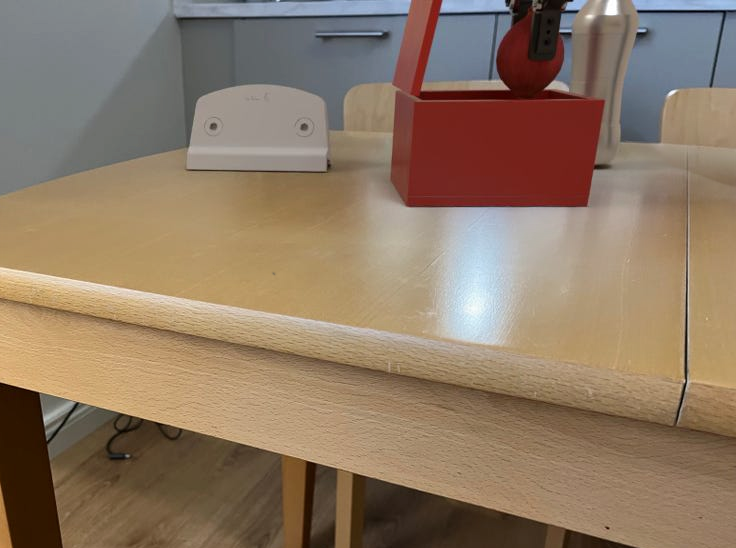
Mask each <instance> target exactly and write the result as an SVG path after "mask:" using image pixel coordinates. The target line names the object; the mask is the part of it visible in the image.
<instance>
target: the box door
mask: <svg viewBox="0 0 736 548" xmlns="http://www.w3.org/2000/svg"><path fill="white" fill-rule="evenodd" d="M442 4H443V0H410V5H409V9H408V14H407V17H406V22H405V26H404V30H403V36H402V40H401V44H400V48H399V53H398V57H397V61H396V66H395V70H394V75H393V79H392V83H391V85H392V86H393V87H396V88H397V89H399V90H403V91H404V92H406V93H408V94H410V95H414V96H419V95H420V91H421V90H422V87H423V82H424V79H425V74H426V72H427V66H428V63H429V58H430V54H431V51H432V50H431V49H432V46H433V42H434V37H435V33H436V29H437V25H438V21H439V17H440V13H441V10H442V9H441V8H442Z"/></svg>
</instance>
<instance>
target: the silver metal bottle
mask: <svg viewBox="0 0 736 548" xmlns="http://www.w3.org/2000/svg"><path fill="white" fill-rule="evenodd" d="M639 17H640V16H639V12H638V10H637V8H636V6H635V3H634V2H633V0H587V1H585V3H584V4H583V5H582V6H581V8H580V9H579V11H578V12H577V14H576V15H575V17H574V19H573V21H572V24H571V36H570V37H571V38H570V39H571V63H570V74H569V75H570V80H569V86H568V92H572V93H576V94H581V95H585V96H590V97H594V98H599V99H603V100H605V104H604V110H603V116H602V122H601V128H600V134H599V140H598V146H597V152H596V158H595V164H594V167H595V166H600V165H604V164H610V163H612V161H613V160H614V159H615V158H616V157H617V154H618V151H619V148H620V146H621V129H622V128H621V123H620V120H621V111H622V110H621V109H622V99H623V97H622V96H623V89H624V84H625V81H624V79H625V77H626V74H627V69H628V65H629V61H630V57H631V55H632V51H633V48H634V44H635V41H636V38H637V33H638V31H639V28H640V27H639V26H640V19H639Z"/></svg>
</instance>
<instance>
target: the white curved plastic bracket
mask: <svg viewBox="0 0 736 548" xmlns="http://www.w3.org/2000/svg"><path fill="white" fill-rule="evenodd" d="M194 110H195V111H194V114H193V122H192V127H191V134H190V140H189V147H188V150H187V154H186V166H185V167H186V168H185V169H186V171H223V172H224V171H226V172H227V171H230V172H286V173H287V172H288V173H291V172H292V173H298V172H299V173H327V172H328V167H330V166H332V164H333V159H332V149H331V148H332V147H331V138H330V137H331V136H330V135H331V134H330V124H329V123H330V122H329V112H328V111H329V110H328V106H327V102H326V101H325V100H324V99H323V98H322V97H321V96H318V95H316V94H314V93H311V92H308V91H305V90H301V89H298V88H294V87H289V86H284V85H278V84H266V83H265V84H261V83H259V84H258V83H257V84H243V85H236V86H231V87H226V88H223V89H219V90H216V91H213V92H209V93H207V94H205V95H202V96H200V97H199V98H198V99H197V101H196V103H195V109H194Z"/></svg>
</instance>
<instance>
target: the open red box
mask: <svg viewBox="0 0 736 548" xmlns="http://www.w3.org/2000/svg"><path fill="white" fill-rule="evenodd" d="M604 104H605V100H603V99H599V98H594V97H590V96H585V95H581V94H576V93H572V92H569V91H566V90H562V89H557V88H545V89H544V90H542V91H541V92H540V93H538V94H537V95H535V96H534V97H533V98H532V99H530V100H519V99H518V98H517V97H516V96H515V94H514V93H513V92H512V91H511V90H510V89H509V88H508V89H421V91H420V95H419V96H414V95H410V94H408V93H406V92H404V91H403V90H401V89H399V90H395V97H394V113H393V129H392V130H393V131H392V146H391V163H390V176H389V177H390V178H389V179H390V183H391V184H392V185H393V187H394V188H395V190H396V191H397V193H398V194H399V196H400V198H401V199H402V200H403V202H404V204H405V206H406V207H588V205H589V199H590V196H591V195H590V194H591V188H592V183H593V176H594V169H595V166H594V164H595V158H596V152H597V146H598V140H599V134H600V128H601V122H602V116H603V110H604Z"/></svg>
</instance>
